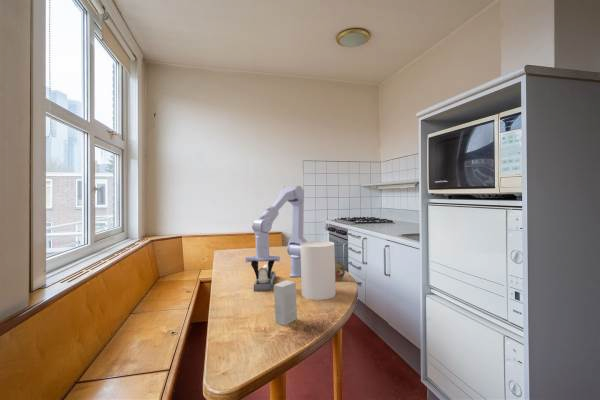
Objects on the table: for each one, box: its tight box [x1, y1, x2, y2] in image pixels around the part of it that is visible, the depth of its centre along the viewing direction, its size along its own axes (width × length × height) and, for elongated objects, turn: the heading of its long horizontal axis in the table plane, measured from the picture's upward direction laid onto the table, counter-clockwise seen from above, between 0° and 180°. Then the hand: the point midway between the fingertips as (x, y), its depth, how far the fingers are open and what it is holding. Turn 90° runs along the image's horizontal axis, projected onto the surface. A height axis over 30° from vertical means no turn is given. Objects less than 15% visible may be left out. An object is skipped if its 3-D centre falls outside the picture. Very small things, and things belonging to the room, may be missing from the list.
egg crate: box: [253, 263, 276, 292], centre depth 130 cm, size 7×21×7 cm, turn 0°
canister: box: [299, 240, 337, 301], centre depth 114 cm, size 14×14×20 cm
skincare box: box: [273, 279, 298, 326], centre depth 90 cm, size 6×4×12 cm
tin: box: [335, 261, 346, 282], centre depth 132 cm, size 15×3×8 cm, turn 73°
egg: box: [258, 267, 269, 284], centre depth 123 cm, size 4×4×6 cm
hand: (263, 278), depth 123 cm, fingers closed on egg, 4 cm apart
